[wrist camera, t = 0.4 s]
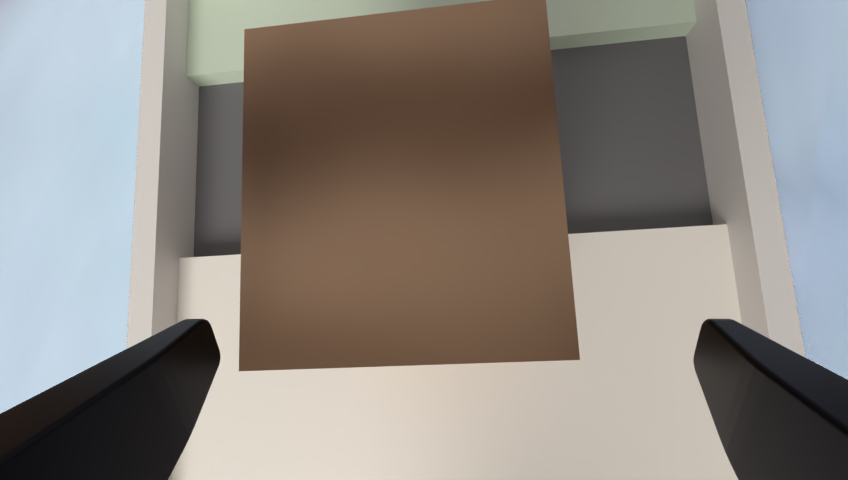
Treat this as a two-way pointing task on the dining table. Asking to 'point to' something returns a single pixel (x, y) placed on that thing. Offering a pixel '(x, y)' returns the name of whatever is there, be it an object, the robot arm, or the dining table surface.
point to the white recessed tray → (588, 242)
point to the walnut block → (404, 192)
